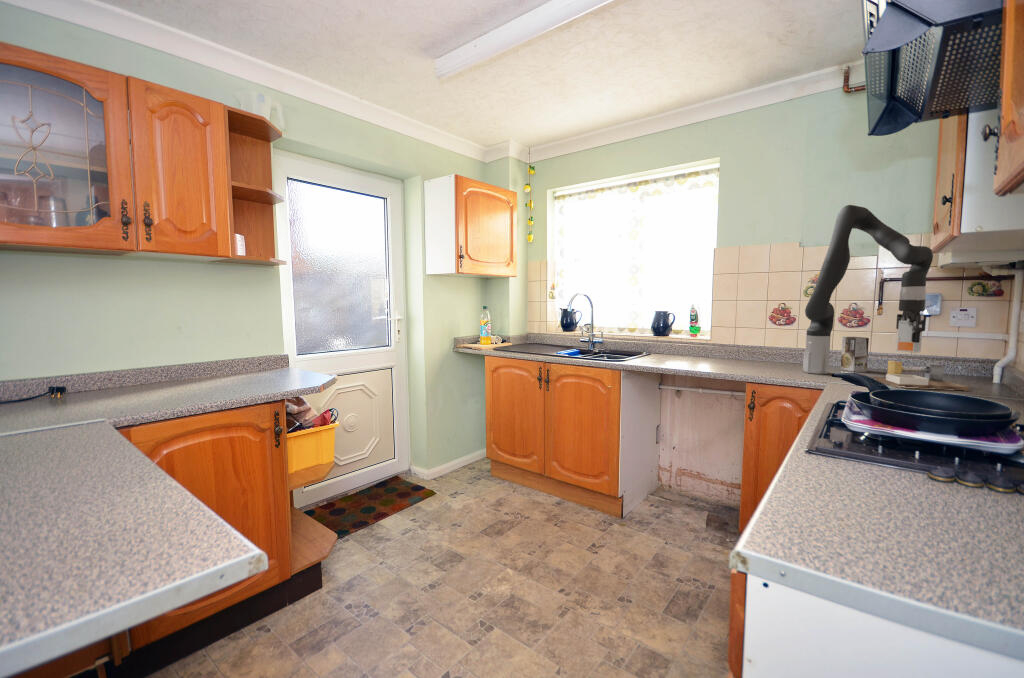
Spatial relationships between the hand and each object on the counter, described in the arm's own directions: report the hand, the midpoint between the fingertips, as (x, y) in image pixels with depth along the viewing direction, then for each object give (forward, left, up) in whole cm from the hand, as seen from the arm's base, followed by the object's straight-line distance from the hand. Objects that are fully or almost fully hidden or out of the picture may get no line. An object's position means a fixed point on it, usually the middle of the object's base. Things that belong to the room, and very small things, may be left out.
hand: (909, 341), depth 173 cm
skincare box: (0, 0, -4) cm, 4 cm away
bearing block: (+14, +10, -16) cm, 23 cm away
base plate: (+6, +4, -18) cm, 19 cm away
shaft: (+7, +10, -15) cm, 19 cm away
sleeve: (0, 0, -16) cm, 16 cm away
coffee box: (0, +42, -18) cm, 46 cm away
